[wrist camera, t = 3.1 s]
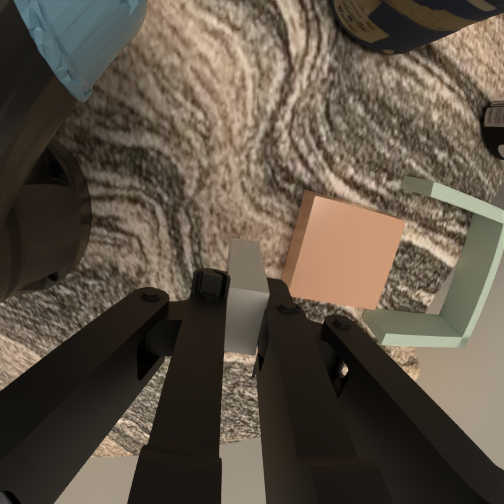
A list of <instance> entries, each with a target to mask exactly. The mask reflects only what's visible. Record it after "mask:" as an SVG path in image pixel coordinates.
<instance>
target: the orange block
mask: <svg viewBox="0 0 504 504" xmlns="http://www.w3.org/2000/svg"><path fill="white" fill-rule="evenodd" d="M405 223H406V221H404V220H402V219H400V218H398V217H396V216H394V215H392V214H389V213H387V212H384V211H381V210H378V209H374V208H371V207H367V206H364V205H360V204H357V203H353V202H350V201H346V200H342V199H339V198H335V197H331V196H328V195H324V194H320V193H316V192H312V191H308V190H304V194H303V198H302V202H301V206H300V210H299V214H298V218H297V221H296V225H295V229H294V233H293V237H292V240H291V244H290V248H289V251H288V255H287V259H286V263H285V266H284V270H283V273H282V277H281V278H282V281H283V282H284V283H286V284H287V286H288V289H289V292H290V295H291V296H293V297H299V298H304V299H310V300H316V301H322V302H328V303H334V304H340V305H346V306H352V307H358V308H365V309H371V310H375V309H376V306H377V304H378V301H379V299H380V296H381V293H382V291H383V288H384V285H385V283H386V280H387V277H388V274H389V272H390V269H391V266H392V263H393V260H394V257H395V254H396V251H397V248H398V245H399V242H400V239H401V236H402V232H403V229H404V226H405Z"/></svg>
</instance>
